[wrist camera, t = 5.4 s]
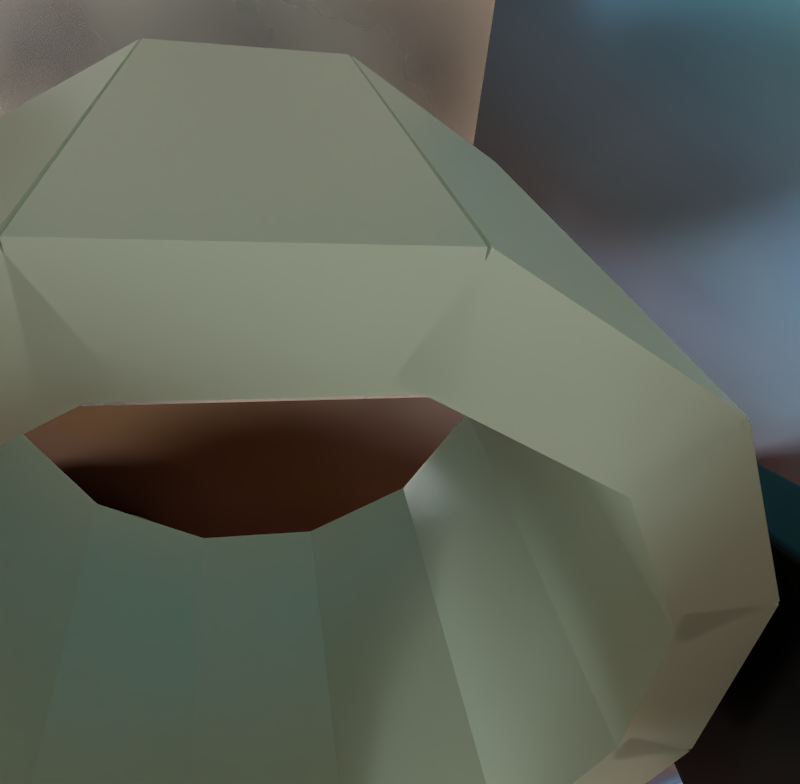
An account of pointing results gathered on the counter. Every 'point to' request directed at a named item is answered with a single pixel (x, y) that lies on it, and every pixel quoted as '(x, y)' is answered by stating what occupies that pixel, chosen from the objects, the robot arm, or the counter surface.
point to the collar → (380, 520)
